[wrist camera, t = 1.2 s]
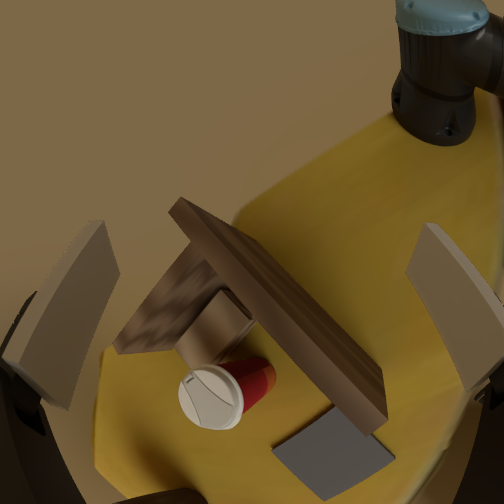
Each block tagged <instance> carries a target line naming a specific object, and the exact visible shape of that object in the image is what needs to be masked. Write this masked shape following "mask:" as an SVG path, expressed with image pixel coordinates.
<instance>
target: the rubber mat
mask: <svg viewBox="0 0 504 504" xmlns="http://www.w3.org/2000/svg"><path fill="white" fill-rule="evenodd" d="M271 451H272V452H273V453H274V455H275V456H276V457H277V458H278V459H279V460H280V461H281V462H282V463H283V464H284V465H285V466H286V467H287V468H288V469H289V470H290V471H291V472H292V473H293V474H294V475H296V476H297V477H298V478H299V479H300V480H301V481H302V482H303V483H304V484H305V485H306V486H307V487H308V488H309V489H311V490H312V491H313V492H314V493H315V494H316V495H317V496H318V497H320V498H321V499H322V500H323V501H326V500H328V499H330V498H332V497H334V496H336V495H338V494H340V493H342V492H344V491H345V490H347V489H349V488H351V487H353V486H354V485H356V484H358V483H359V482H361V481H363V480H364V479H366V478H368V477H369V476H371V475H373V474H374V473H376V472H377V471H379V470H380V469H382V468H383V467H385V466H386V465H388V464H389V463H391V462H392V461H393V460H395V456H394V455H393V454H392V453H391V452H390V451H389V450H388V449H387V448H386V447H385V446H384V445H383V444H382V443H381V442H380V441H379V440H378V439H377V438H376V437H375V436H374V435H373V434H372V433H371V434H370V435H369V436H367V437H366V436H365V435H364V434H363V433H362V432H361V431H360V430H359V429H358V428H357V427H356V426H355V425H354V424H353V423H352V422H351V421H350V420H349V419H348V418H347V417H346V416H345V415H344V414H343V413H342V412H341V411H340V410H339V409H338V408H337V407H336V406H334V407H332V408H331V409H330V410H328V411H327V412H326V413H325V414H323V415H322V416H321V417H319V418H318V419H317V420H315V421H314V422H312V423H311V424H310V425H308V426H307V427H305V428H304V429H303V430H301V431H300V432H298V433H297V434H295V435H294V436H292V437H291V438H289V439H288V440H286V441H285V442H283V443H281V444H280V445H278V446H277V447H275V448H273V449H272V450H271Z"/></svg>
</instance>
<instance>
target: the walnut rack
mask: <svg viewBox="0 0 504 504" xmlns="http://www.w3.org/2000/svg"><path fill="white" fill-rule="evenodd" d="M168 213H169V214H170V215H171V217H172V218H173V219H174V220H175V222H176V223H177V224H178V225H179V227H180V228H181V229H182V231H183V232H184V233H185V234H186V236H187V237H188V238H189V239H190V241H191V242H190V244H189V245H188V246H187V247H186V248H185V249H184V251H183V252H182V253H181V254H180V256H179V257H178V258H177V259H176V261H175V262H174V263H173V264H172V265H171V267H170V268H169V269H168V270H167V272H166V273H165V274H164V276H163V277H162V278H161V279H160V281H159V282H158V283H157V284H156V286H155V287H154V288H153V290H152V291H151V292H150V293H149V295H148V296H147V297H146V299H145V300H144V302H143V303H142V304H141V305H140V306H139V308H138V309H137V311H136V312H135V313H134V315H133V316H132V317H131V318H130V320H129V321H128V322H127V324H126V325H125V327H124V328H123V329H122V331H121V332H120V333H119V335H118V336H117V338H116V339H115V340H114V342H113V343H112V344H113V346H114V348H115V350H116V352H117V354H118V355H120V354H133V353H145V352H155V351H165V350H172V349H173V348H174V345H175V344H176V343H177V342H178V341H179V339H180V338H181V337H182V336H183V334H184V333H185V332H186V331H187V330H188V328H189V327H190V326H191V325H192V324H193V322H194V321H195V320H196V319H197V317H198V316H199V315H200V314H201V313H202V311H203V310H204V309H205V308H206V307H207V305H208V304H209V303H210V302H211V301H212V299H213V298H214V297H215V296H216V294H217V293H218V292H219V291H220V290H221V289H224V290H227V289H228V288H230V289H231V290H232V292H233V293H234V294H235V295H236V296H237V297H238V299H239V300H240V301H241V302H242V303H243V304H244V306H245V307H246V308H247V309H248V310H249V311H250V313H251V314H252V315H253V316H254V317H255V318H256V320H257V321H258V322H259V323H260V324H261V325H262V326H263V328H264V329H265V330H266V331H267V332H268V333H269V334H270V335H271V337H272V338H273V339H274V340H275V341H276V342H277V343H278V344H279V346H280V347H281V348H282V349H283V350H284V351H285V352H286V353H287V354H288V356H289V357H290V358H291V359H292V360H293V361H294V362H295V363H296V364H297V365H298V367H299V368H300V369H301V370H302V371H303V372H304V373H305V374H306V375H307V376H308V377H309V378H310V380H311V381H312V382H313V383H314V384H315V385H316V386H317V387H318V388H319V389H320V390H321V391H322V392H323V393H324V394H325V395H326V397H327V398H328V399H329V400H330V401H331V402H332V403H333V404H334V405H335V406H336V407H337V408H338V409H339V410H340V411H341V412H342V413H343V414H344V415H345V416H346V417H347V418H348V419H349V420H350V421H351V422H352V423H353V424H354V425H355V426H356V427H357V428H358V429H359V430H360V431H361V432H362V433H363V434H364V435H365V436H366V437H367V436H369V435H370V434H371V433H373V432H374V431H375V430H377V429H378V428H379V427H380V426H382V425H383V424H384V423H385V422H387V421H388V412H387V403H386V395H385V388H384V381H383V374H382V369H381V368H380V367H379V366H378V365H377V364H376V363H375V362H374V361H373V360H372V359H371V358H370V357H369V356H368V355H367V354H366V353H365V351H364V350H363V349H362V348H361V347H360V346H359V345H358V344H357V343H356V342H355V341H354V340H353V339H352V338H351V337H350V336H349V335H348V334H347V333H346V332H345V331H344V330H343V329H342V328H341V327H340V326H339V325H338V324H337V323H336V322H335V321H334V320H333V318H332V317H331V316H330V315H329V314H328V313H327V312H326V311H325V310H324V309H323V308H322V307H321V306H320V305H319V304H318V303H317V302H316V301H315V300H314V299H313V298H312V297H311V296H310V295H309V294H308V293H307V292H306V291H305V290H304V289H303V288H302V287H301V286H300V285H299V284H298V283H297V282H296V281H295V280H294V279H293V278H292V277H291V276H290V275H289V274H288V273H287V272H286V271H285V270H284V269H283V268H282V267H281V266H280V265H279V264H278V263H277V262H276V261H275V260H274V259H273V258H272V257H271V255H270V254H269V253H268V252H267V251H266V250H265V249H264V248H263V247H262V246H261V245H260V244H259V243H258V242H257V241H256V240H254V239H252V238H251V237H249V236H247V235H245V234H244V233H242V232H240V231H239V230H237V229H235V228H234V227H232V226H230V225H229V224H227V223H225V222H223V221H222V220H220V219H218V218H217V217H215V216H213V215H211V214H210V213H208V212H206V211H205V210H203V209H201V208H200V207H198V206H196V205H194V204H192V203H191V202H189V201H187V200H186V199H184V198H182V197H180V198H179V199H178V201H177V202H176V203H175V204H174V206H173V207H172V208H171V209H170V211H169V212H168Z"/></svg>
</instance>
